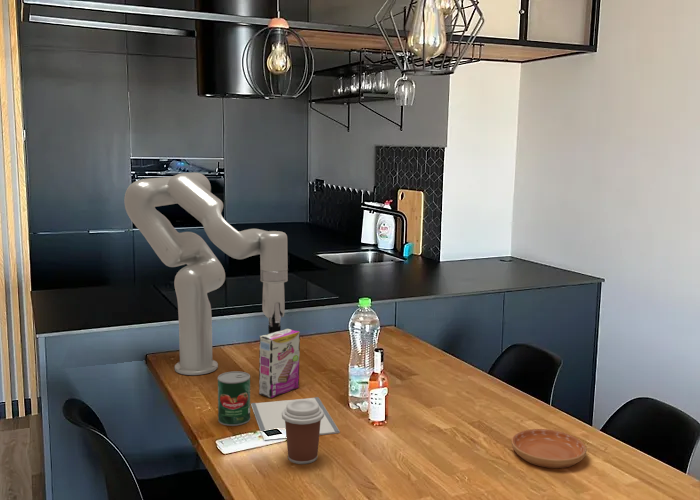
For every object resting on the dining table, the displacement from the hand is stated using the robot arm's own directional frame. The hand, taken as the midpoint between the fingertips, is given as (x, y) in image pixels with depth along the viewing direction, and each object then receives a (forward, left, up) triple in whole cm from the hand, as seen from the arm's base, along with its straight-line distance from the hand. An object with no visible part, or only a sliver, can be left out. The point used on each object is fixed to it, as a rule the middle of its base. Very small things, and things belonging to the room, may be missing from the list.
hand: (274, 339), depth 194 cm
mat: (+28, 0, -12) cm, 30 cm away
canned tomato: (+25, -14, -12) cm, 31 cm away
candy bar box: (+9, 0, -12) cm, 15 cm away
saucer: (+61, +51, -13) cm, 80 cm away
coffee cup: (+49, -2, -12) cm, 51 cm away
